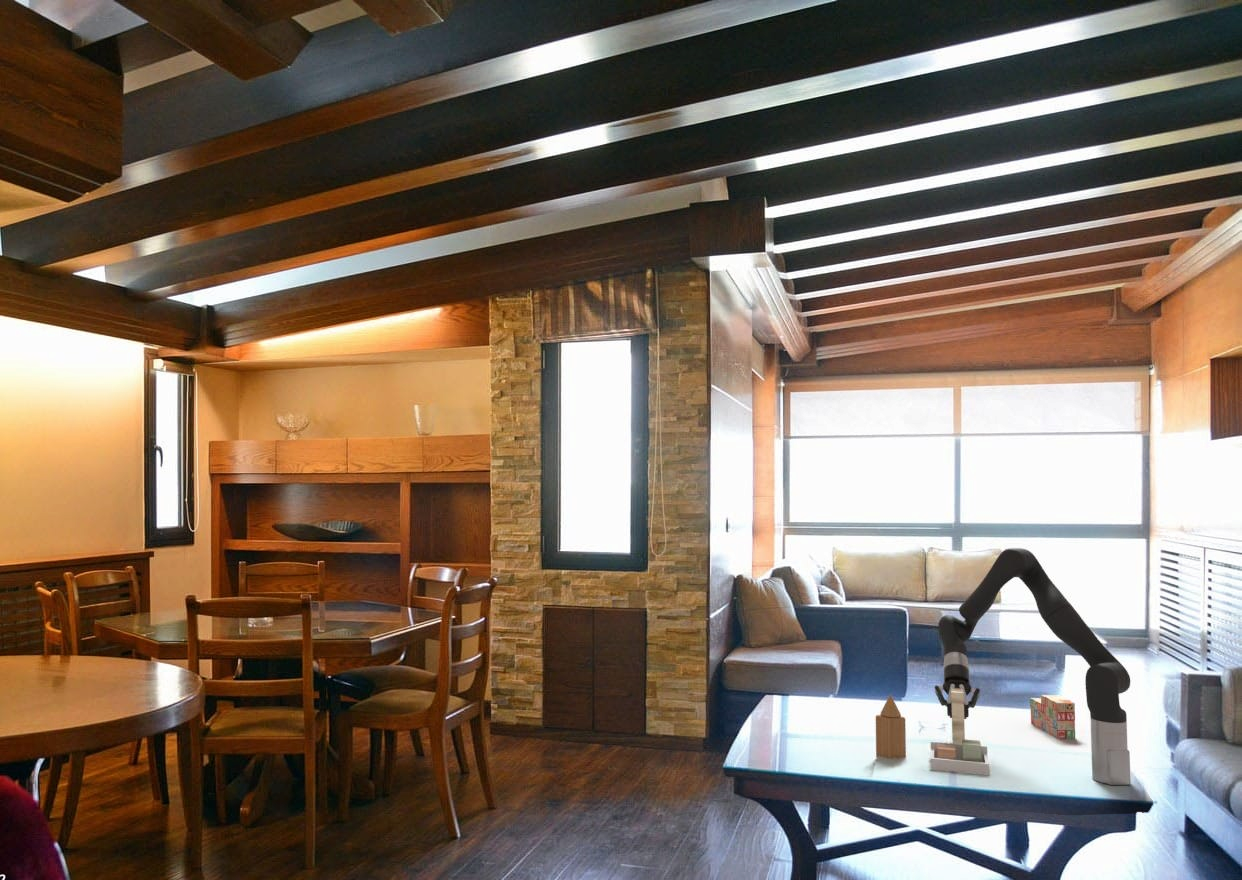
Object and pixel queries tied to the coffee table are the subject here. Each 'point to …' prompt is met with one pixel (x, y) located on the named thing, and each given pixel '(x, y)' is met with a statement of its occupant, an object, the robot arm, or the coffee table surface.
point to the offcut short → (946, 752)
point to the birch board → (957, 715)
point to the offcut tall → (971, 750)
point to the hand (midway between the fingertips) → (958, 716)
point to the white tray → (959, 760)
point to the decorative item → (890, 731)
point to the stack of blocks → (1054, 715)
